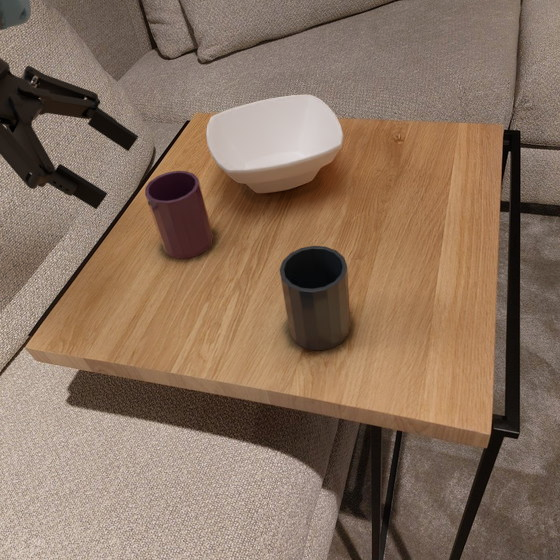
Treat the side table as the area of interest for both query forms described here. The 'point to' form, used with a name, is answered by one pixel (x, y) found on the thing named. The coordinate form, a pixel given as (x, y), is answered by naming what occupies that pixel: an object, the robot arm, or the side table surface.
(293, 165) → the bowl
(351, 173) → the side table surface
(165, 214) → the plum cup
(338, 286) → the slate cup
